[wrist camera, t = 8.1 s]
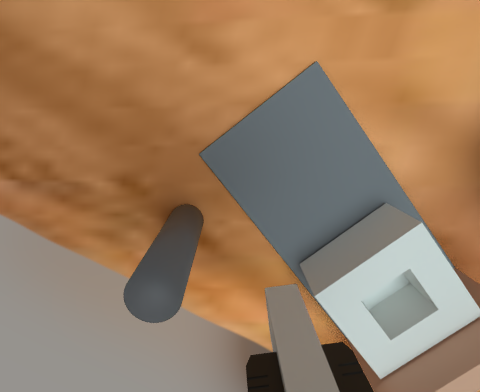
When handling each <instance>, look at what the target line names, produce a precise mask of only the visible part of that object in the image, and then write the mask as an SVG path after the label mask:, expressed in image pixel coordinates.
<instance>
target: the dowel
mask: <svg viewBox="0 0 480 392" xmlns="http://www.w3.org/2000/svg"><path fill="white" fill-rule="evenodd" d="M202 226H203V216H202V213H201V212H200V210H199V209H197V208H196V207H195V206H192V205H188V204H184V205H180V206H178V207H176V208H175V209H174V210H173V211H172V213H171V215H170V216H169V218H168V219H167V221H166V222H165V224H164V226H163V227H162V229H161V230H160V232H159V234H158V235H157V237H156V238H155V240H154V241H153V243H152V245H151V246H150V248H149V249H148V251H147V252H146V254H145V256H144V257H143V259H142V260H141V262H140V263H139V265H138V267H137V268H136V270H135V271H134V273H133V275H132V276H131V278H130V279H129V281H128V283H127V284H126V286H125V289H124V302H125V305H126V307H127V308H128V310H129V311H130V312H131V314H133V315H134V316H135V317H136V318H138V319H140V320H142V321H145V322H150V323H159V322H163V321H166V320H168V319H170V318H172V317H173V316H174V315H175V314H176V313H177V312H178V310H179V309H180V307H181V304H182V300H183V296H184V293H185V289H186V285H187V282H188V278H189V274H190V271H191V267H192V263H193V259H194V256H195V252H196V248H197V245H198V241H199V237H200V234H201V230H202Z"/></svg>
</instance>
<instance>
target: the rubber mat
mask: <svg viewBox="0 0 480 392" xmlns="http://www.w3.org/2000/svg"><path fill="white" fill-rule="evenodd" d="M199 155H200V156H201V157H202V159H203V160H204V161H205V162H206V164H207V165H208V166H209V167H210V169H211V170H212V171H213V172H214V174H215V175H216V176H217V177H218V179H219V180H220V181H221V182H222V184H223V185H224V186H225V187H226V189H227V190H228V191H229V192H230V194H231V195H232V196H233V197H234V199H235V200H236V201H237V202H238V204H239V205H240V206H241V207H242V209H243V210H244V211H245V212H246V214H247V215H248V216H249V217H250V219H251V220H252V221H253V222H254V224H255V225H256V226H257V227H258V229H259V230H260V231H261V232H262V234H263V235H264V236H265V237H266V239H267V240H268V241H269V242H270V244H271V245H272V246H273V247H274V249H275V250H276V251H277V252H278V253H279V255H280V256H281V257H282V258H283V260H284V261H285V262H286V263H287V265H288V266H289V267H290V268H291V270H292V271H293V272H294V273H295V275H296V276H297V277H298V278H299V280H300V281H301V282H302V283H303V285H304V286H305V287H306V288H307V290H308V291H309V292H310V293H311V295H312V296H313V297H314V295H313V292H312V290H311V288H310V286H309V284H308V282H307V280H306V277H305V275H304V273H303V271H302V269H301V267H300V263H302V262H303V261H305V260H306V259H307V258H309V257H310V256H312V255H313V254H315V253H316V252H317V251H319V250H320V249H322V248H323V247H324V246H326V245H327V244H329V243H330V242H332V241H333V240H334V239H336V238H337V237H339V236H340V235H341V234H343V233H344V232H346V231H347V230H349V229H350V228H351V227H353V226H354V225H356V224H357V223H358V222H360V221H361V220H363V219H364V218H366V217H367V216H368V215H370V214H371V213H373V212H374V211H375V210H377V209H378V208H380V207H381V206H383V205H384V204H385V203H387V204H389V205H391V206H393V207H395V208H397V209H398V210H400V211H402V212H404V213H406V214H408V215H409V216H411V217H413V218H415V219H417V220H418V221H420V222H422V223H423V225H424V226H425V228H426V229H427V231H428V232H429V234H430V235H431V237H432V238H433V240H434V241H435V243H436V244H437V246H438V247H439V249H440V250H441V252H442V253H443V255H444V256H445V258H446V259H447V261H448V262H449V264H450V265H451V267H452V268H455V267H454V266H453V264H452V263H451V261H450V260H449V258H448V257H447V255H446V254H445V252H444V251H443V249H442V248H441V246H440V245H439V243H438V242H437V240H436V239H435V237H434V236H433V234H432V233H431V231H430V230H429V228H428V227H427V225H426V224H425V222H424V221H423V219H422V218H421V216H420V215H419V213H418V212H417V210H416V209H415V207H414V206H413V204H412V203H411V201H410V200H409V198H408V197H407V195H406V194H405V192H404V191H403V189H402V188H401V186H400V185H399V183H398V182H397V180H396V179H395V177H394V176H393V174H392V173H391V171H390V170H389V168H388V167H387V165H386V164H385V162H384V161H383V159H382V158H381V156H380V155H379V153H378V152H377V150H376V149H375V147H374V146H373V144H372V143H371V141H370V140H369V138H368V137H367V135H366V134H365V132H364V131H363V129H362V128H361V126H360V125H359V123H358V122H357V120H356V119H355V117H354V116H353V114H352V113H351V111H350V110H349V108H348V107H347V105H346V104H345V102H344V101H343V99H342V98H341V96H340V95H339V93H338V92H337V90H336V89H335V87H334V86H333V84H332V83H331V81H330V80H329V78H328V77H327V75H326V74H325V72H324V71H323V69H322V68H321V66H320V65H319V63H318V62H317V61H316V62H315V63H314V64H312V65H311V66H310V67H309V68H307V69H306V70H305V71H303V72H302V73H301V74H300V75H298V76H297V77H296V78H295V79H293V80H292V81H291V82H290V83H288V84H287V85H286V86H285V87H283V88H282V89H281V90H279V91H278V92H277V93H276V94H274V95H273V96H272V97H271V98H269V99H268V100H267V101H266V102H264V103H263V104H262V105H260V106H259V107H258V108H257V109H255V110H254V111H253V112H252V113H250V114H249V115H248V116H247V117H245V118H244V119H243V120H242V121H240V122H239V123H238V124H236V125H235V126H234V127H233V128H231V129H230V130H229V131H228V132H226V133H225V134H224V135H223V136H221V137H220V138H219V139H217V140H216V141H215V142H214V143H212V144H211V145H210V146H209V147H207V148H206V149H205V150H204V151H202V152H201V153H200V154H199ZM314 298H315V297H314ZM315 300H316V301H317V302H318V300H317V299H316V298H315ZM318 303H319V302H318ZM319 305H320V306H321V307H322V305H321V304H320V303H319ZM322 308H323V307H322ZM323 310H324V311H325V312H326V310H325V309H324V308H323ZM326 313H327V312H326ZM327 315H328V316H329V317H330V315H329V314H328V313H327ZM330 318H331V317H330ZM331 320H332V321H333V322H334V320H333V319H332V318H331ZM334 323H335V322H334ZM335 325H336V326H337V327H338V325H337V324H336V323H335ZM338 328H339V327H338ZM339 330H340V331H341V332H342V330H341V329H340V328H339ZM342 333H343V332H342ZM343 335H344V336H345V337H346V335H345V334H344V333H343ZM346 338H347V337H346Z"/></svg>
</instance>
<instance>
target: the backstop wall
mask: <svg viewBox="0 0 480 392" xmlns="http://www.w3.org/2000/svg"><path fill="white" fill-rule="evenodd" d="M453 269H454V271H455V272H456V274H457V275H458V277H459V278H460V280H461V281H462V283H463V284H464V286H465V287H466V289H467V290H468V292H469V293H470V295H471V296H472V298H473V299H474V301H475V302H476V304H477V305H478V307H479V308H480V284H478V283H477V282H475V281H474V280H472V279H471V278H469V277H468V276H466V275H465V274H463V273H462V272H460V271H459V270H457V269H456V268H453ZM347 340H348V342H349V344H350V346H351V348H352V350H353V352H354V353H355V355H356V357H357V359H358V361H359V363H360V365H361V367H362V369H363V371H364V373H365V375H366V376H367V378H368V380H369V382H370V384H371V386H372V388H373V390H374V392H477V391H478V390H480V317H478V318H477V319H475V320H474V321H472V322H470V323H469V324H467V325H466V326H464V327H462V328H461V329H459V330H458V331H456V332H455V333H453V334H451V335H450V336H448V337H447V338H445V339H443V340H442V341H440V342H439V343H437V344H436V345H434V346H432V347H431V348H429V349H428V350H426V351H425V352H423V353H421V354H420V355H418V356H417V357H415V358H413V359H412V360H410V361H409V362H407V363H406V364H404V365H402V366H401V367H399V368H398V369H396V370H394V371H393V372H391V373H390V374H388V375H387V376H385V377H383V378H382V379H380V378H379V377H378V375H377V374H376V373H375V372H374V370H373V369H372V368H371V367H370V365H369V364H368V363H367V362H366V360H365V359H364V358H363V357H362V355H361V354H360V353H359V352H358V350H357V349H356V348H355V347H354V345H353V344H352V343H351V342H350V340H349V339H348V338H347Z"/></svg>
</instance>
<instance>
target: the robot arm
mask: <svg viewBox="0 0 480 392" xmlns="http://www.w3.org/2000/svg"><path fill="white" fill-rule="evenodd" d="M265 295H266V303H267V311H268V319H269V327H270V336H271V342H272V347H273V352H271V353H264V354H256V355H251V356H250V358H249V360H248V363H247V365H246V372H247V386H248V392H374V391H373V389H372V387H371V385H370V383H369V381H368V379H367V377H366V375H365V373H364V372H363V370H362V368H361V366H360V364H359V362H358V360H357V358H356V356H355V354H354V352H353V351H352V350H351V349H350V348H349V347H348V346H346V345H345V344H344V343H343V342H339V343H331V344H324V345H321V344H320V341H319V339H318V336H317V334H316V331H315V329H314V326H313V324H312V321H311V319H310V316H309V314H308V311H307V309H306V306H305V304H304V301H303V299H302V296H301V293H300V291H299V288H298V286H297V284H291V285H284V286H276V287H269V288H265Z"/></svg>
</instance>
